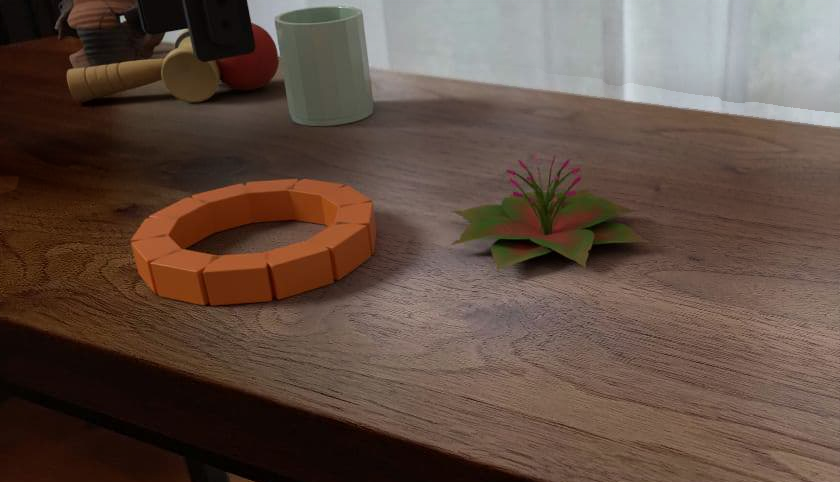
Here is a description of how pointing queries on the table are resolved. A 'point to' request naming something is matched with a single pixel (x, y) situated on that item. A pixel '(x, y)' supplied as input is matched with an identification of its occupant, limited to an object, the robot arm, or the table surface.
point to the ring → (255, 272)
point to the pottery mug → (105, 31)
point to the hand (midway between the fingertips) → (197, 42)
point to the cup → (325, 65)
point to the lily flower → (546, 222)
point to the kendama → (180, 72)
